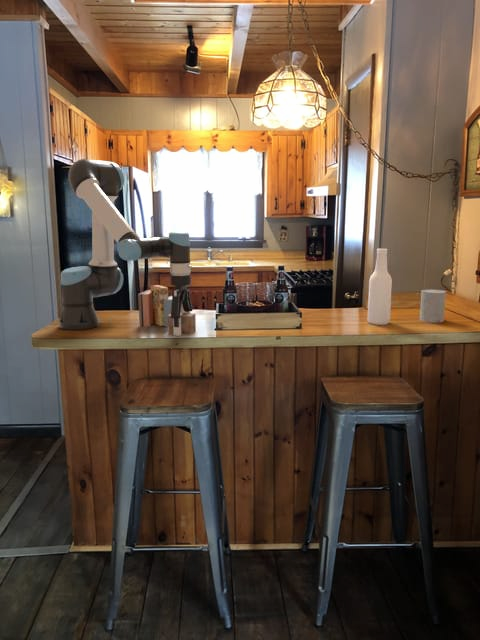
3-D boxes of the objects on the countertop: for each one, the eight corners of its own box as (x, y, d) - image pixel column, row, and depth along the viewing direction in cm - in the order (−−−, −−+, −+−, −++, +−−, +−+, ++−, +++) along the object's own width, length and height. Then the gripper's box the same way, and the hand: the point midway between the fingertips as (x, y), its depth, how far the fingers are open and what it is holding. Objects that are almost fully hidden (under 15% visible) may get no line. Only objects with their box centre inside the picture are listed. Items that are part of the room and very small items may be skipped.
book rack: (139, 326, 206) (138, 294, 203) (150, 320, 217) (148, 289, 214) (180, 327, 202) (179, 295, 200) (188, 321, 213) (187, 290, 211)
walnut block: (168, 333, 193) (167, 315, 192) (173, 330, 199) (172, 312, 197) (191, 334, 191) (190, 316, 190) (195, 331, 197) (195, 313, 196)
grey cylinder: (444, 323, 208) (446, 293, 205) (419, 321, 211) (421, 292, 209) (443, 318, 217) (445, 289, 214) (419, 317, 220) (421, 288, 217)
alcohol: (392, 324, 206) (396, 249, 199) (370, 325, 205) (374, 249, 199) (385, 320, 214) (389, 247, 208) (364, 320, 214) (367, 248, 207)
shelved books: (143, 326, 206) (142, 294, 203) (151, 321, 215) (150, 290, 212) (172, 327, 204) (171, 294, 201) (179, 322, 212) (178, 291, 209)
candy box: (170, 325, 207) (168, 287, 203) (160, 326, 204) (158, 288, 201) (160, 321, 214) (159, 284, 211) (151, 322, 212) (149, 285, 208)
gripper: (180, 278, 178) (182, 339, 183) (198, 270, 201) (200, 325, 206) (159, 278, 180) (162, 338, 184) (180, 270, 203) (182, 324, 207)
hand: (182, 331), depth 195 cm, fingers open, 11 cm apart
